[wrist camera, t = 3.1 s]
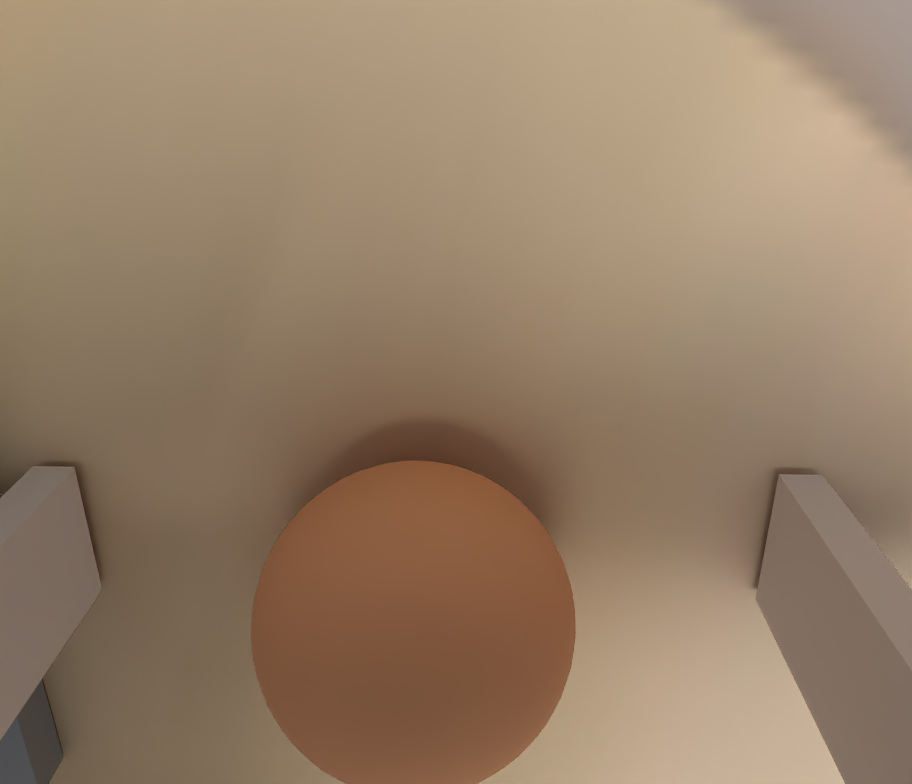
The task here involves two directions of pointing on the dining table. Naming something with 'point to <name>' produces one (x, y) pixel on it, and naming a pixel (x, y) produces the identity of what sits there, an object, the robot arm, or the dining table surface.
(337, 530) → the ball
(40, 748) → the rack
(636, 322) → the dining table surface
